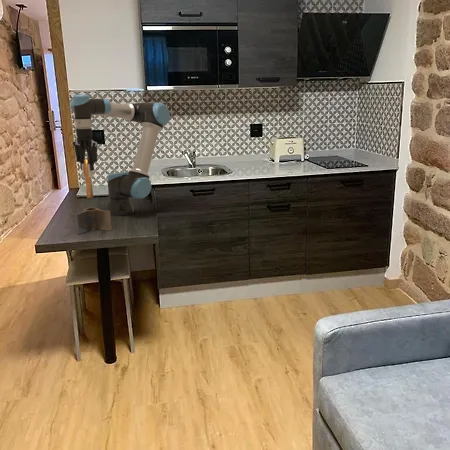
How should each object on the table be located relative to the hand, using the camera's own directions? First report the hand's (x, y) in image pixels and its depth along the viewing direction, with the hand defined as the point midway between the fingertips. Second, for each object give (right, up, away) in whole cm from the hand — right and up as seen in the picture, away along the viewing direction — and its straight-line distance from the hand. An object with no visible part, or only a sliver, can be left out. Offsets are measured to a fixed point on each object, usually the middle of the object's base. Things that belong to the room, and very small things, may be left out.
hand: (88, 176), depth 231 cm
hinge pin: (0, -10, +3) cm, 11 cm away
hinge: (+2, -27, +2) cm, 27 cm away
